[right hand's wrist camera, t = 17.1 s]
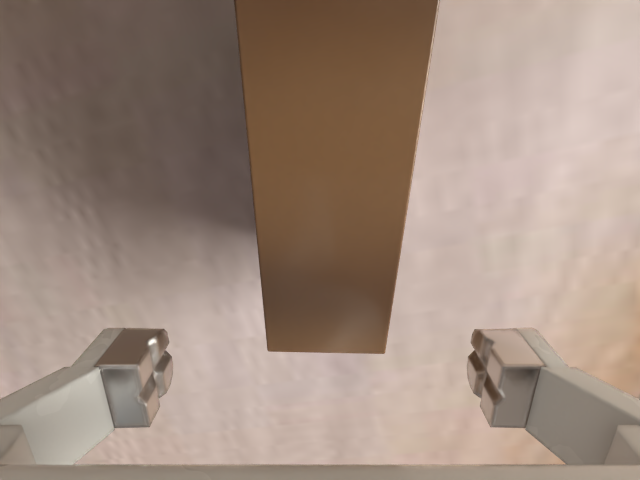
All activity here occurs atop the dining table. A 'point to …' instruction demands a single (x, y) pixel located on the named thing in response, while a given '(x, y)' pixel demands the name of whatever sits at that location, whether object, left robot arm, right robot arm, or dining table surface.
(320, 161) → the bar
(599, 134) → the dining table surface
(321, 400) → the dining table surface
